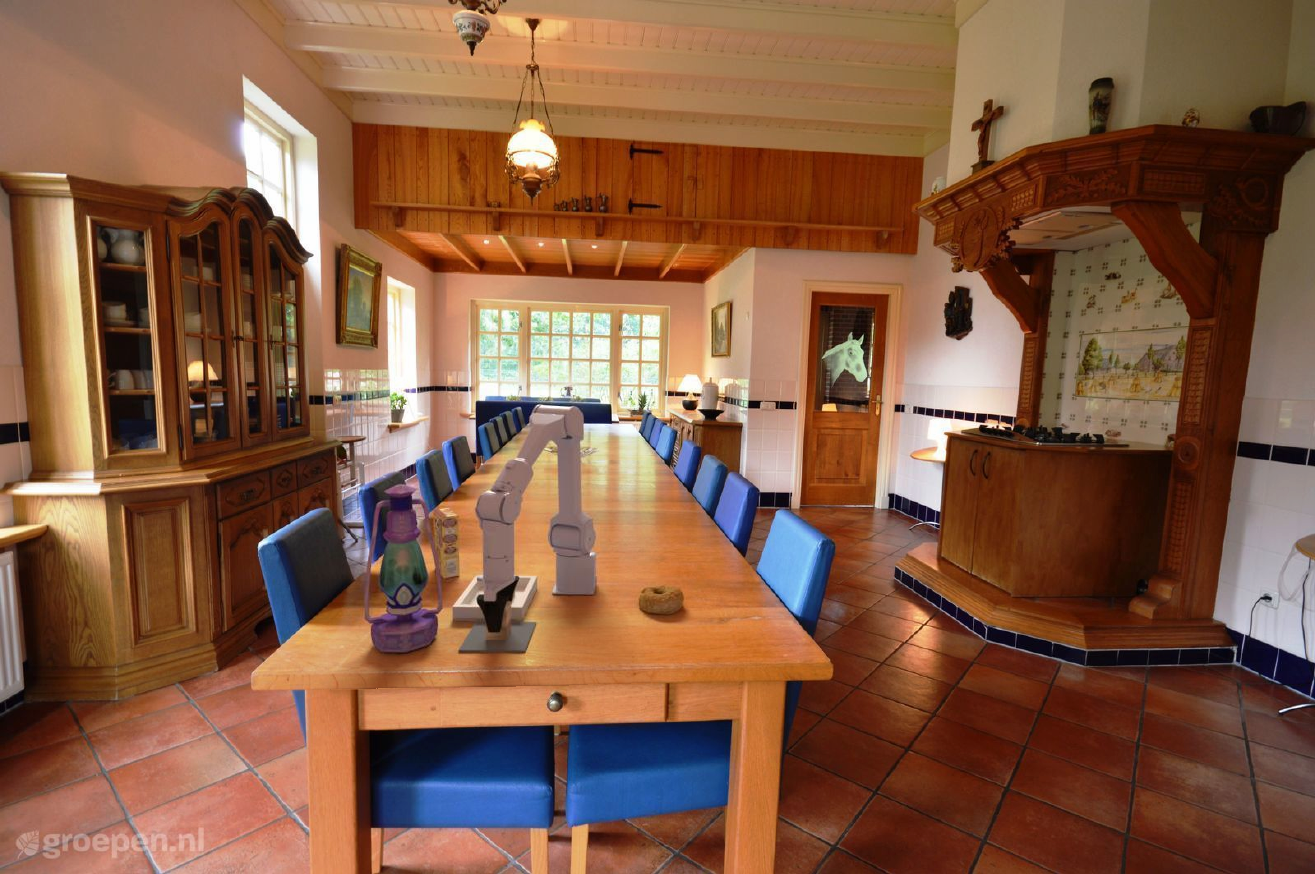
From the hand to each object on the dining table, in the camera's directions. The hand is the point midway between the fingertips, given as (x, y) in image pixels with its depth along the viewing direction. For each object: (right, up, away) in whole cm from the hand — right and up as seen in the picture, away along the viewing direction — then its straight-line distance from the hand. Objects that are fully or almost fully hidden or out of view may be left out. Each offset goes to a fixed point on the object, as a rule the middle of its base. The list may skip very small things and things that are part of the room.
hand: (499, 622), depth 114 cm
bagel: (+31, -2, +17) cm, 35 cm away
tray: (-5, -1, +16) cm, 17 cm away
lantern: (-17, -3, -2) cm, 17 cm away
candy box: (-22, +2, +34) cm, 41 cm away
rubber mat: (0, -3, 0) cm, 3 cm away
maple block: (0, -3, 0) cm, 3 cm away
